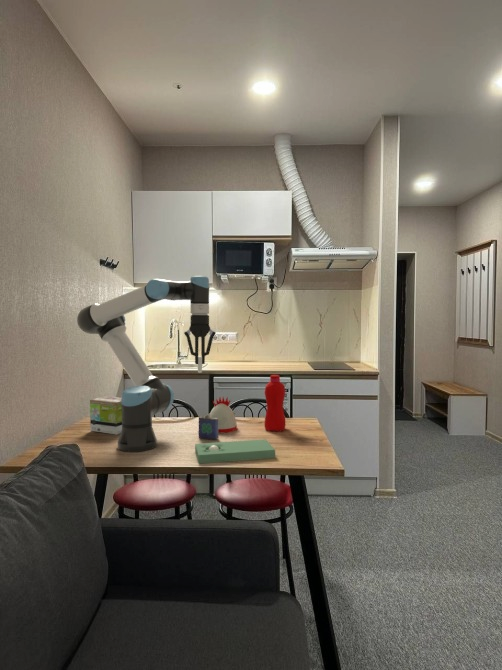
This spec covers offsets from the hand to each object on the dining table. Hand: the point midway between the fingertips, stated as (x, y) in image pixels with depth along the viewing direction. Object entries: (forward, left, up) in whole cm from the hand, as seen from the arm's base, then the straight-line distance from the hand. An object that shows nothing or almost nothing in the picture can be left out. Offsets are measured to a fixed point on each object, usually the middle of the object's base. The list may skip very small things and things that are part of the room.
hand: (199, 372), depth 181 cm
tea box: (-38, +28, -29) cm, 56 cm away
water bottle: (+36, +14, -29) cm, 48 cm away
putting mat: (+11, -19, -29) cm, 36 cm away
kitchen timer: (+12, +20, -29) cm, 38 cm away
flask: (+4, +5, -29) cm, 30 cm away
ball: (+3, -19, -27) cm, 33 cm away
